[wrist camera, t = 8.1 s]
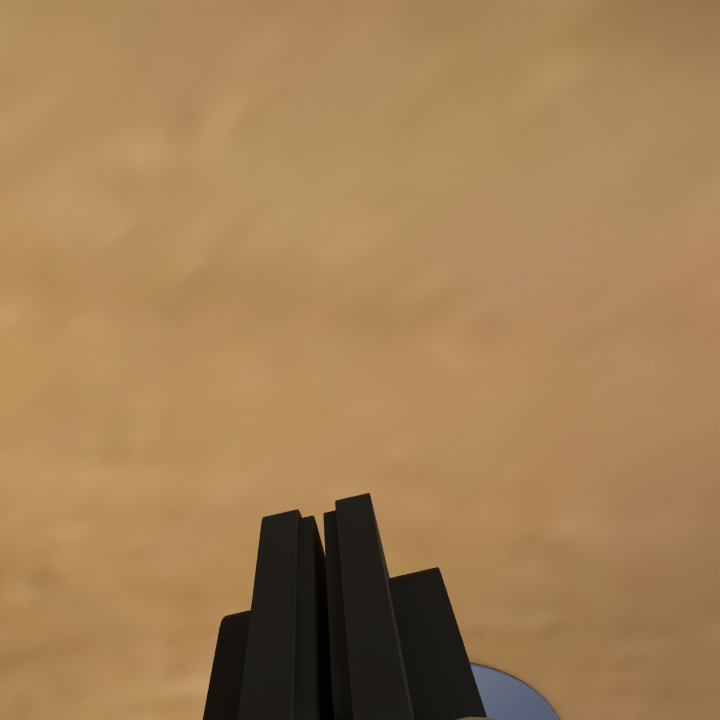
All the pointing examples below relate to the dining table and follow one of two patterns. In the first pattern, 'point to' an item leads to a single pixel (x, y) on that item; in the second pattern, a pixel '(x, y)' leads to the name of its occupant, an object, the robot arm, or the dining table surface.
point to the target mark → (509, 696)
